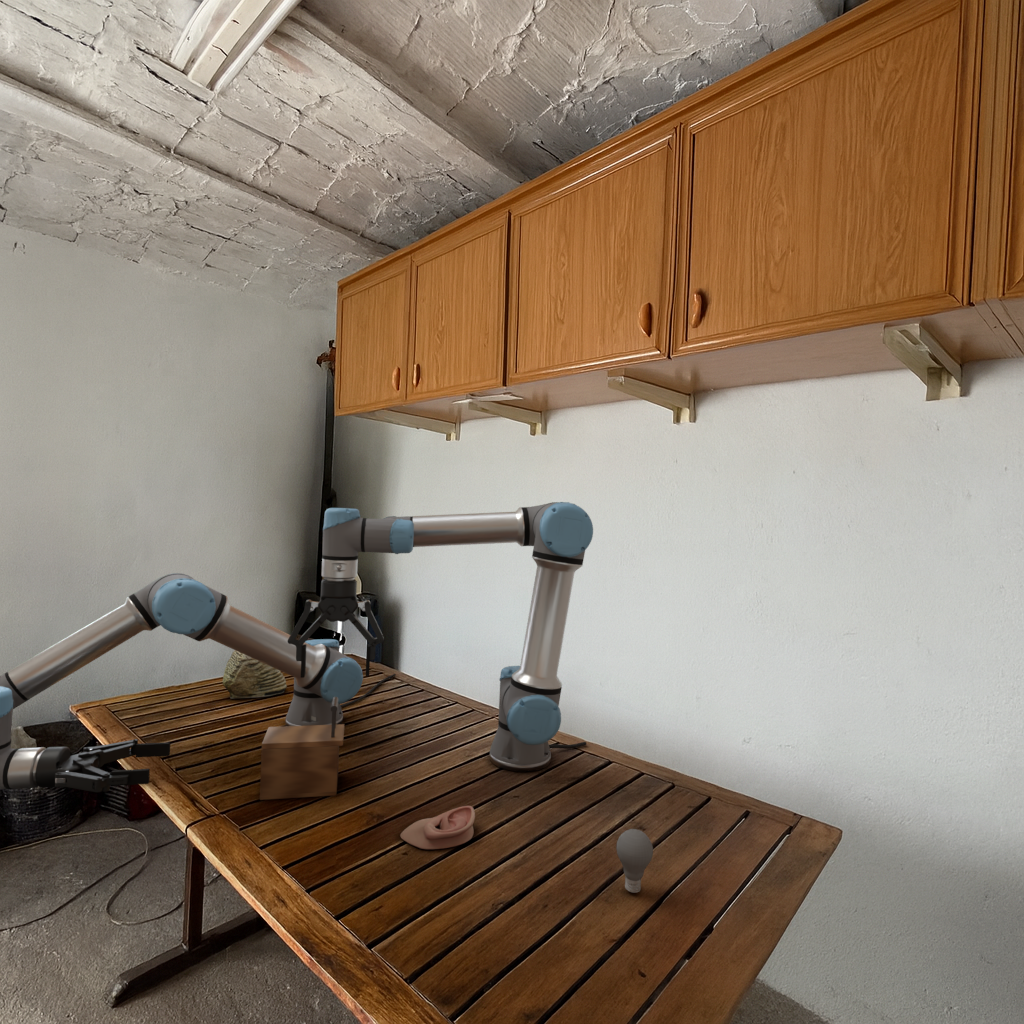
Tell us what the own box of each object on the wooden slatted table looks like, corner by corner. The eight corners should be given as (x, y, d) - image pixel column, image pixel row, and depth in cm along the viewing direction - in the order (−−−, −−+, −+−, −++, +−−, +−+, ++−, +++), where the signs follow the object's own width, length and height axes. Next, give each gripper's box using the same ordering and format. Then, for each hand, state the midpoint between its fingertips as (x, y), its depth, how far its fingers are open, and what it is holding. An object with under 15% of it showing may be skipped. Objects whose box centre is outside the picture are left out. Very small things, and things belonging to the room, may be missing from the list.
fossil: (218, 695, 195) (220, 647, 195) (278, 685, 208) (279, 640, 207) (228, 703, 189) (230, 653, 188) (289, 692, 201) (290, 645, 201)
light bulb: (610, 879, 108) (613, 822, 108) (644, 879, 109) (647, 822, 109) (619, 902, 102) (622, 840, 102) (655, 901, 103) (658, 840, 103)
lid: (344, 729, 144) (345, 694, 144) (342, 745, 135) (344, 708, 135) (268, 732, 140) (269, 695, 140) (261, 749, 131) (263, 710, 131)
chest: (338, 775, 144) (339, 729, 144) (336, 795, 135) (338, 746, 135) (266, 779, 141) (268, 732, 140) (259, 800, 131) (261, 749, 131)
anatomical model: (394, 823, 116) (416, 795, 127) (393, 844, 116) (415, 814, 128) (464, 834, 114) (480, 804, 125) (463, 855, 114) (479, 824, 125)
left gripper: (70, 760, 138) (176, 755, 143) (7, 817, 114) (138, 809, 119) (71, 726, 138) (177, 722, 143) (9, 775, 114) (139, 769, 119)
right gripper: (276, 580, 132) (272, 681, 132) (398, 581, 137) (394, 678, 138) (281, 575, 139) (277, 671, 139) (396, 577, 145) (392, 669, 145)
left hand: (159, 762), depth 131 cm, fingers open, 13 cm apart
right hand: (335, 675), depth 139 cm, fingers open, 13 cm apart
